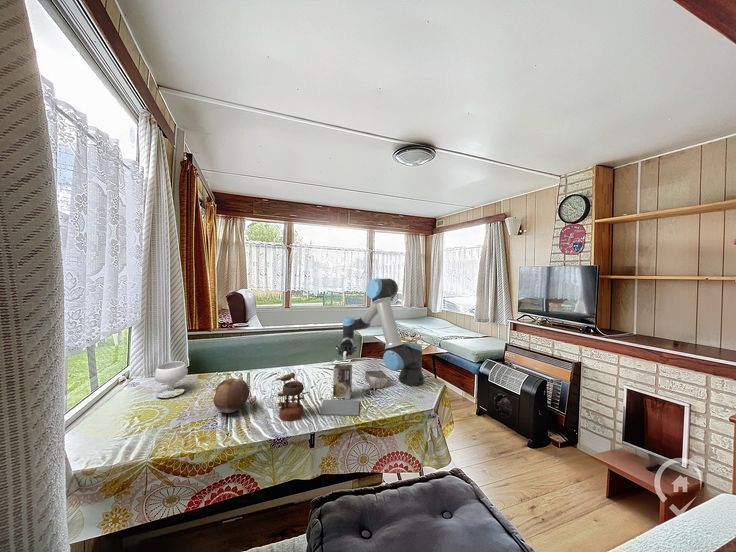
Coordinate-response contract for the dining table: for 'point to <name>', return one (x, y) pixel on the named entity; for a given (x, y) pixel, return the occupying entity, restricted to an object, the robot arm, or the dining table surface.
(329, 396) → the dining table surface
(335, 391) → the coffee box
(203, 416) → the dining table surface
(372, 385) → the geological specimen
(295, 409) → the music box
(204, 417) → the dining table surface
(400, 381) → the robot arm
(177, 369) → the chalice
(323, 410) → the rubber mat
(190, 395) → the dining table surface
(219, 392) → the wooden sphere
